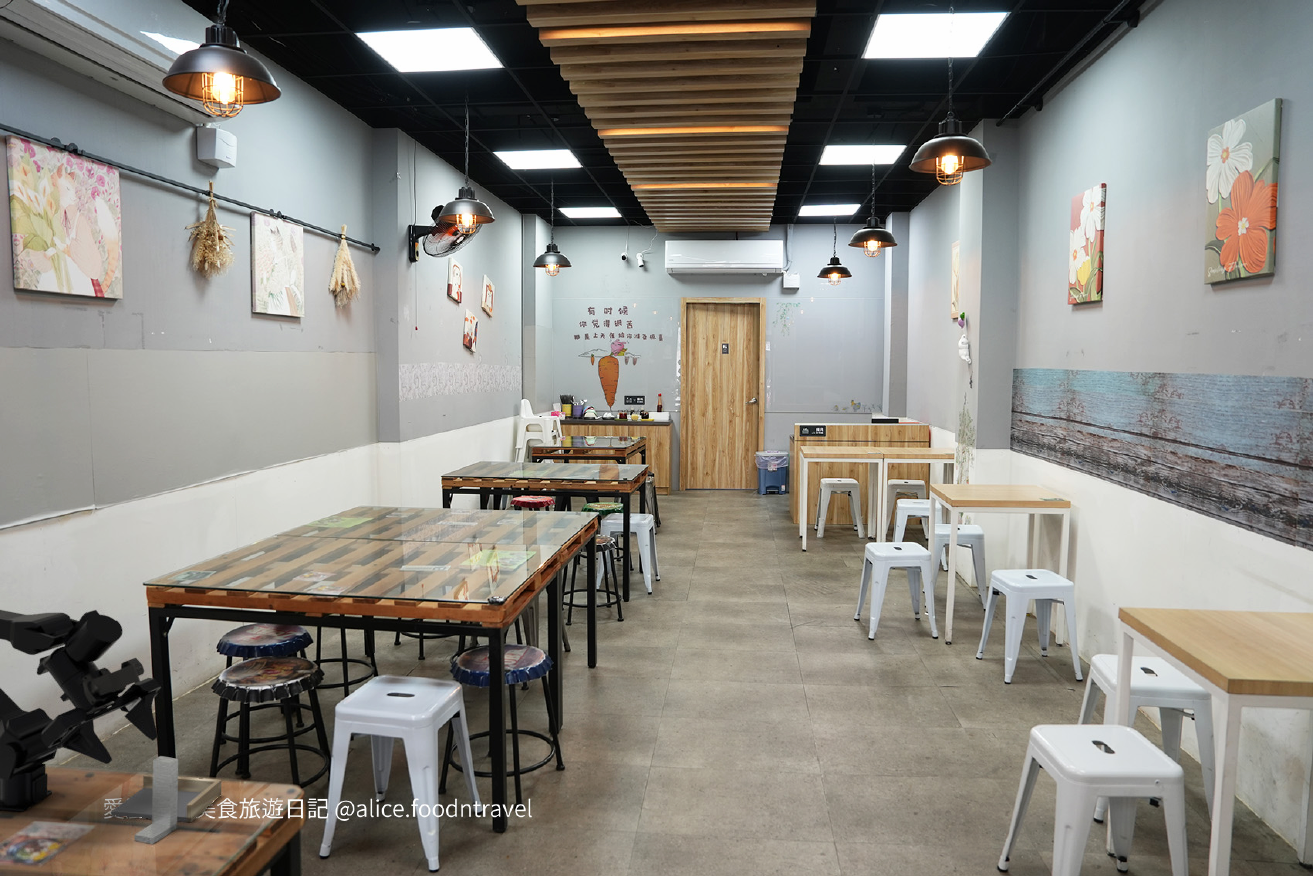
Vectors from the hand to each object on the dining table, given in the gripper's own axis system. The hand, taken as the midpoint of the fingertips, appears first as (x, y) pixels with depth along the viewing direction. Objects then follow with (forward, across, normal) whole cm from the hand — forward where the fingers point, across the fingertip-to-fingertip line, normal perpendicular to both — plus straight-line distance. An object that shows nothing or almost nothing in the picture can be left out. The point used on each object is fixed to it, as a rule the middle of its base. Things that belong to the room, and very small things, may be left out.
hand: (133, 750), depth 138 cm
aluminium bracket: (+13, -2, +4) cm, 14 cm away
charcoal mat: (+10, +6, +8) cm, 14 cm away
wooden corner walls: (+10, +6, +8) cm, 14 cm away
